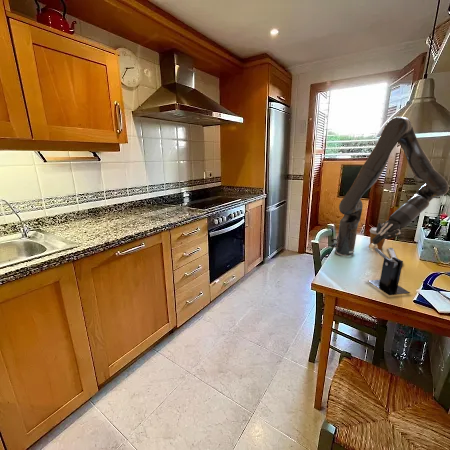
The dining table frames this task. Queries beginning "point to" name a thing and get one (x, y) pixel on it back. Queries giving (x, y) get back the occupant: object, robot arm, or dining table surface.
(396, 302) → the dining table surface
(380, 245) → the disposable coffee cup
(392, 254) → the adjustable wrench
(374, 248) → the lever
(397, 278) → the bracket
